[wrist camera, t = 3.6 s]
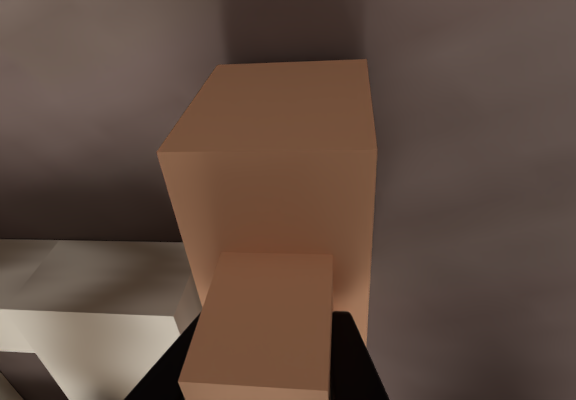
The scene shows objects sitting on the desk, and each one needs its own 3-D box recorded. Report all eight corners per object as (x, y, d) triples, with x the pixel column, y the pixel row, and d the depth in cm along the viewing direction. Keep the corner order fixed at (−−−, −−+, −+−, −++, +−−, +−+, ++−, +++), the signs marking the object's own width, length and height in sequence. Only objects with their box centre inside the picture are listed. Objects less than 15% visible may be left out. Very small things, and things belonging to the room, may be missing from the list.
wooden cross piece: (366, 59, 11) (393, 279, 5) (359, 274, 16) (367, 524, 10) (217, 64, 12) (73, 270, 5) (253, 271, 16) (198, 506, 10)
